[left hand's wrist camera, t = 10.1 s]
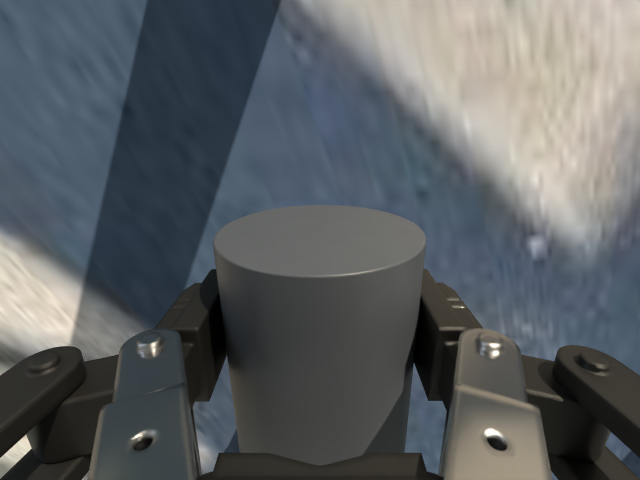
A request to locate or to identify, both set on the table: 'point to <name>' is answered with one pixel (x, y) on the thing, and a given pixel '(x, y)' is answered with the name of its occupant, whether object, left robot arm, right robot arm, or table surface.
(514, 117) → the table surface
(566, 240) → the table surface
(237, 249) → the cylinder
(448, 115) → the table surface
